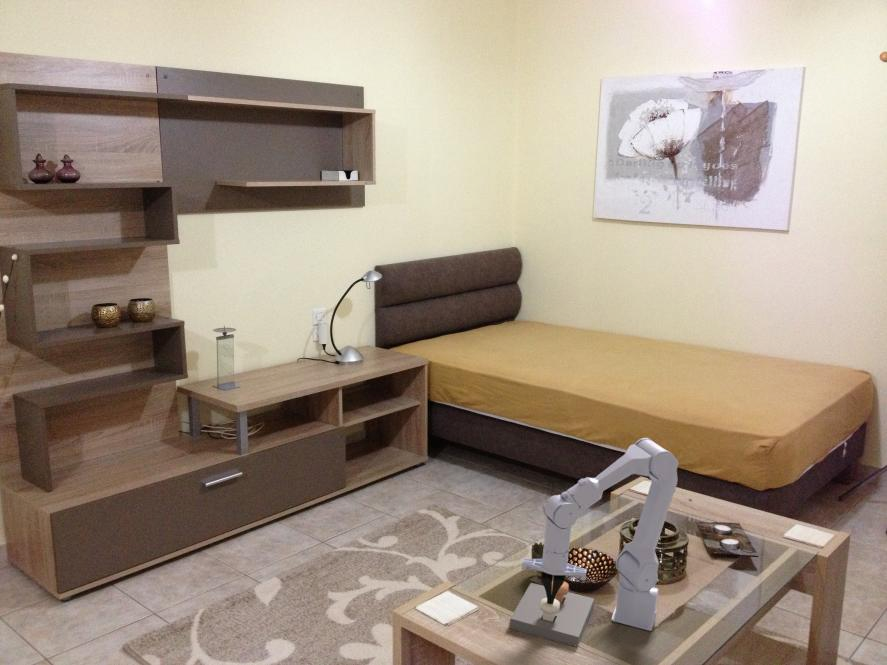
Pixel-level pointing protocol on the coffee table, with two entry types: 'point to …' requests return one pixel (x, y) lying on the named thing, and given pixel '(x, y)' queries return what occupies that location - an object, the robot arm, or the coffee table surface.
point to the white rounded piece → (549, 609)
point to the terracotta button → (561, 592)
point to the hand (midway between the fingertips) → (550, 601)
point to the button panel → (565, 623)
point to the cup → (537, 554)
